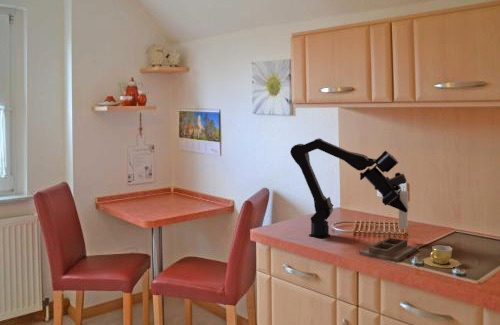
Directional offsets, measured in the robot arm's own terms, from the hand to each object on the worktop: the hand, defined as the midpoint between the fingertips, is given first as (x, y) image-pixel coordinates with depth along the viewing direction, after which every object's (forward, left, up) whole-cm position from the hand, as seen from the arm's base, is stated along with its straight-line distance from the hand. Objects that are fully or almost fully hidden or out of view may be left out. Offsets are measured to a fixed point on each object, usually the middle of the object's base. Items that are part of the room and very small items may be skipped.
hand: (407, 210), depth 196 cm
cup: (+21, -13, -13) cm, 28 cm away
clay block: (-1, -1, -7) cm, 7 cm away
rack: (+2, -16, -13) cm, 20 cm away
